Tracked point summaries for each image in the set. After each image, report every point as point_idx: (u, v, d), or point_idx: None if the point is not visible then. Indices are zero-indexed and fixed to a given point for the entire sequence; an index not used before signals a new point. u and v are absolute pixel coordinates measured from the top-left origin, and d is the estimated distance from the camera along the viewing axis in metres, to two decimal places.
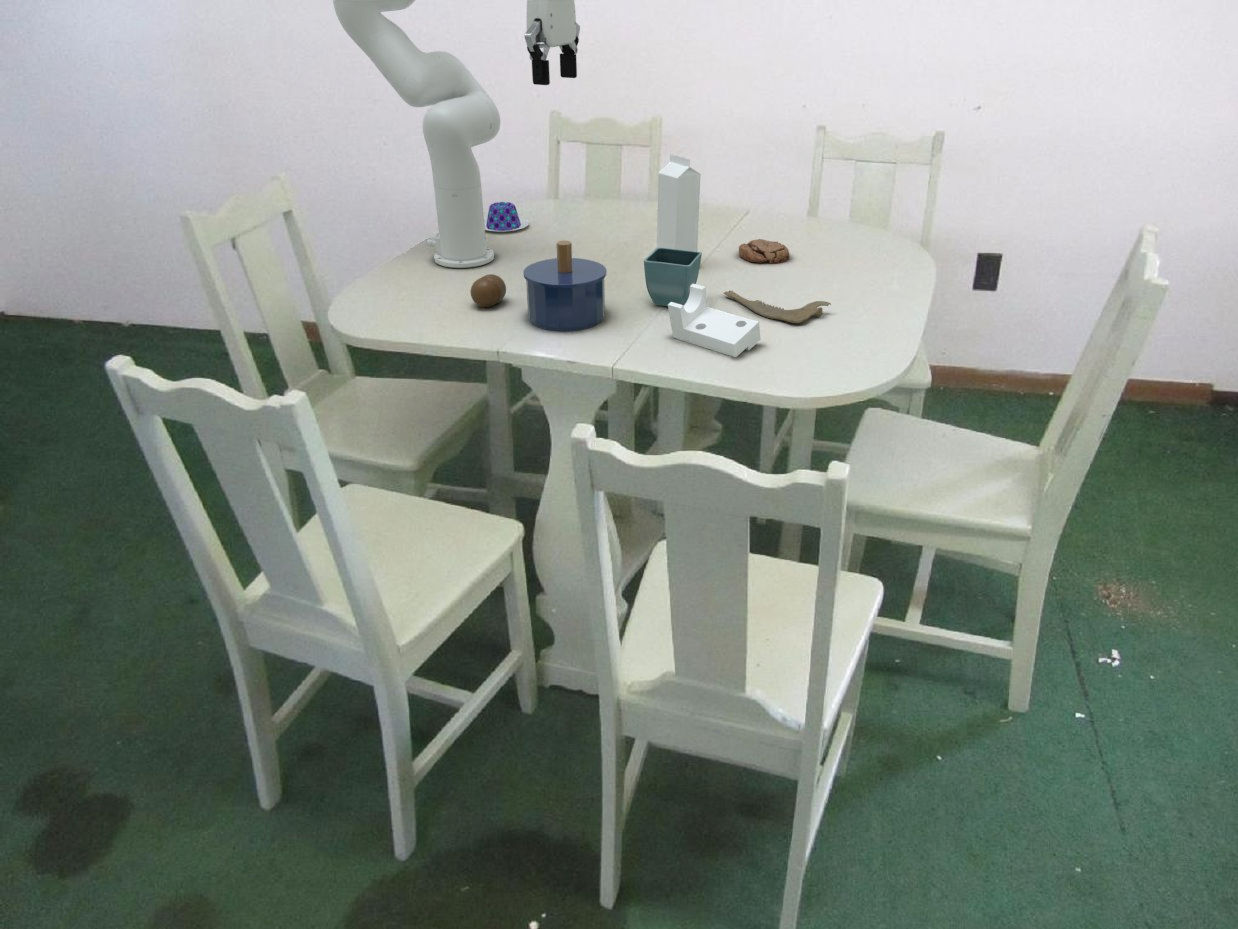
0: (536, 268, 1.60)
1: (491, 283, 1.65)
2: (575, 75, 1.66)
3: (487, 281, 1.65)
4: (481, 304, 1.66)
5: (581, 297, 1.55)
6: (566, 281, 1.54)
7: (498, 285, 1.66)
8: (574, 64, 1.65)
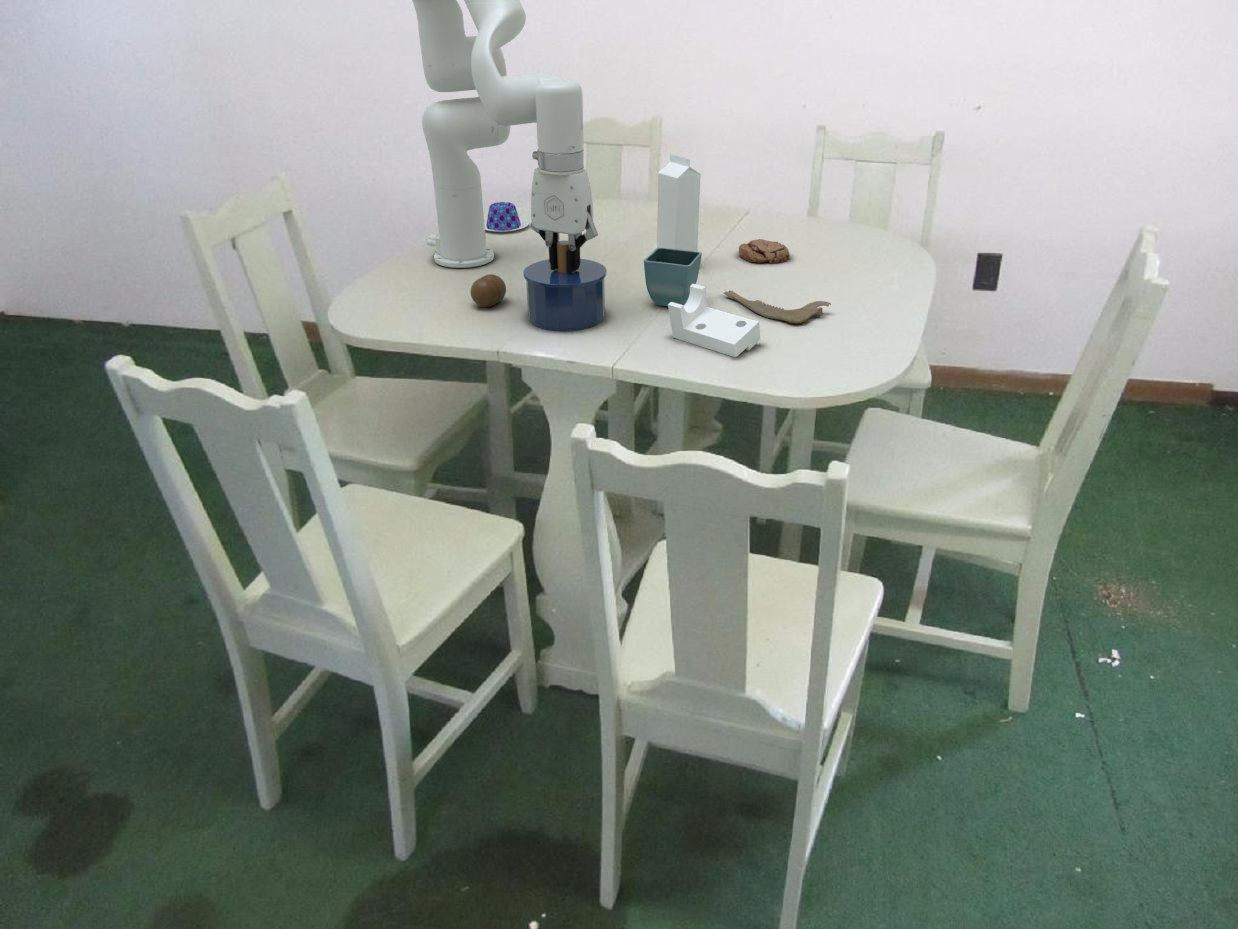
0: (536, 268, 1.60)
1: (491, 283, 1.65)
2: None
3: (487, 281, 1.65)
4: (481, 304, 1.66)
5: (581, 297, 1.55)
6: (566, 281, 1.54)
7: (498, 285, 1.66)
8: None
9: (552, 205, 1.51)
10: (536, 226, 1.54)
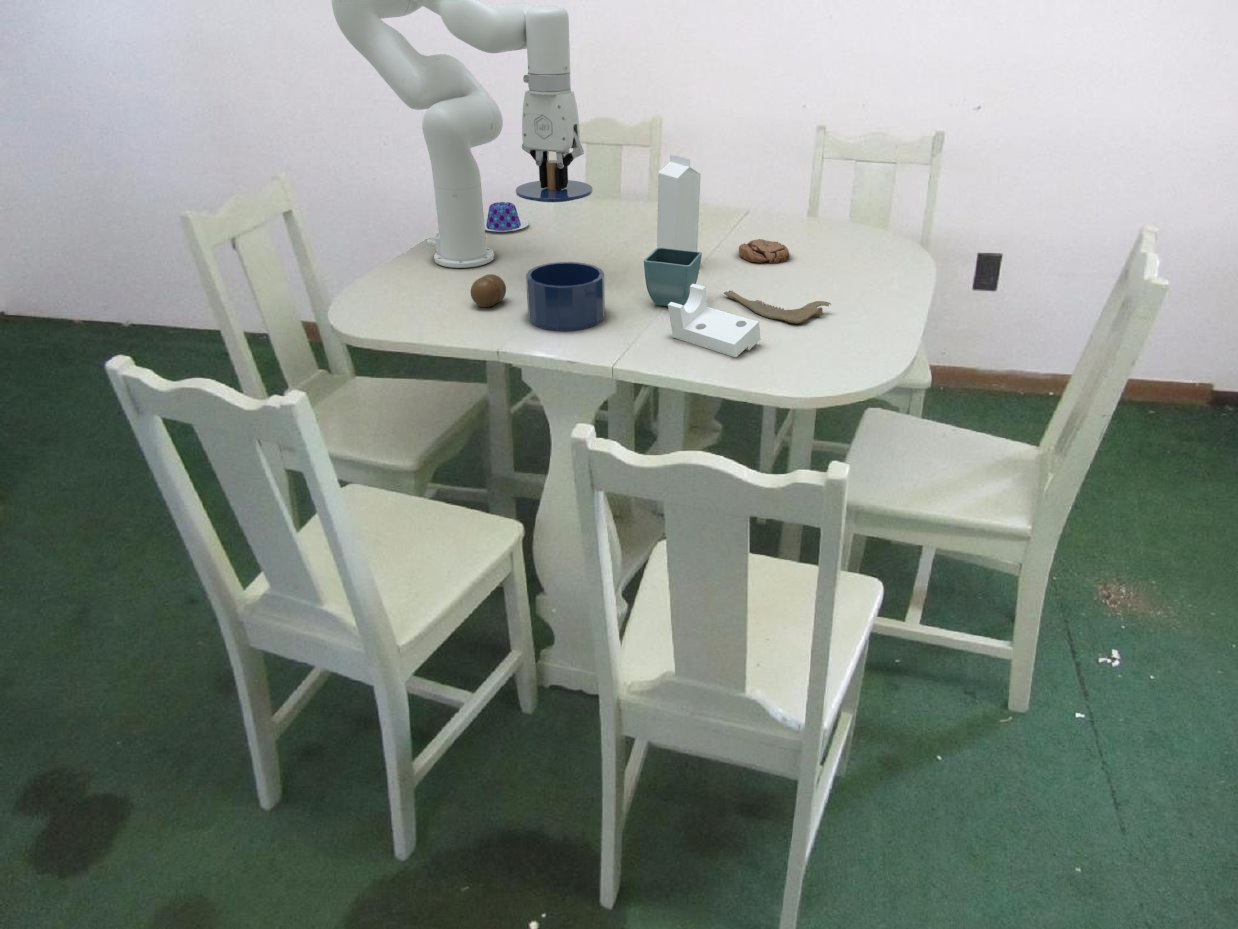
0: (527, 187, 1.73)
1: (491, 283, 1.65)
2: None
3: (487, 281, 1.65)
4: (481, 304, 1.66)
5: (581, 297, 1.55)
6: (555, 195, 1.67)
7: (498, 285, 1.66)
8: None
9: (541, 125, 1.64)
10: (527, 145, 1.67)
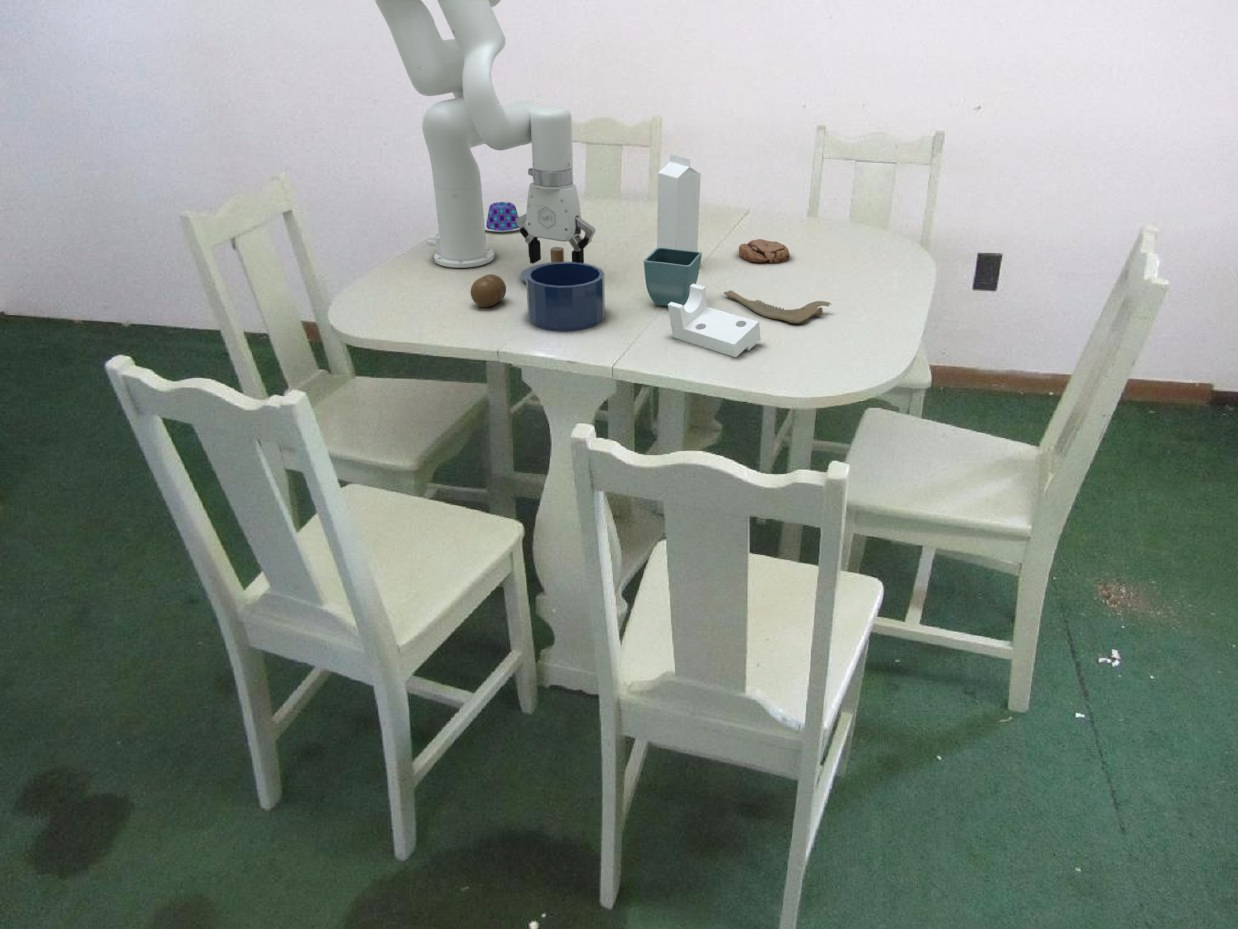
0: None
1: (491, 283, 1.65)
2: None
3: (487, 281, 1.65)
4: (481, 304, 1.66)
5: (581, 297, 1.55)
6: None
7: (498, 285, 1.66)
8: (539, 248, 1.81)
9: (544, 216, 1.72)
10: (531, 233, 1.76)
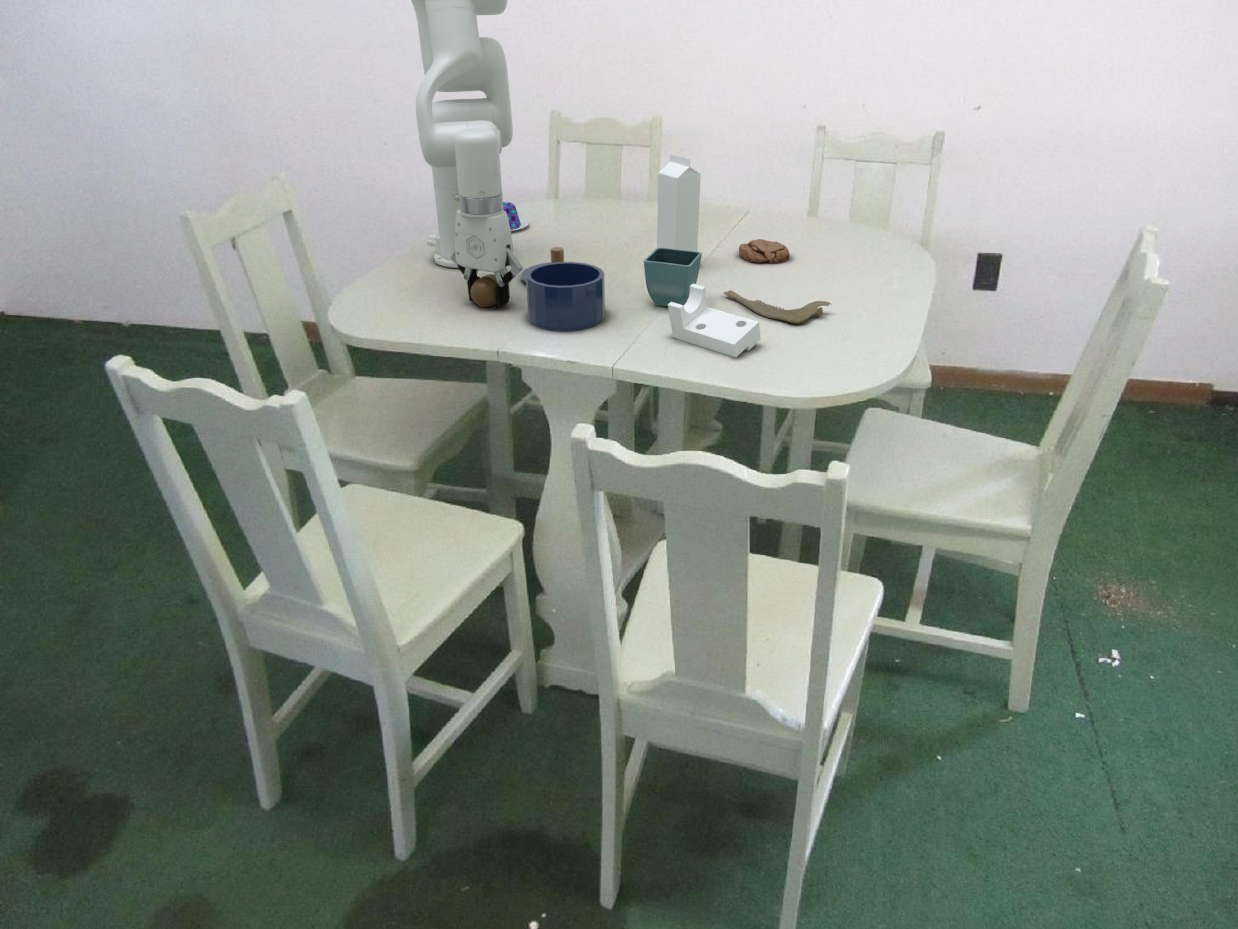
0: None
1: (491, 283, 1.65)
2: None
3: (487, 281, 1.65)
4: (481, 304, 1.66)
5: (581, 297, 1.55)
6: None
7: None
8: None
9: (473, 245, 1.61)
10: (460, 263, 1.64)
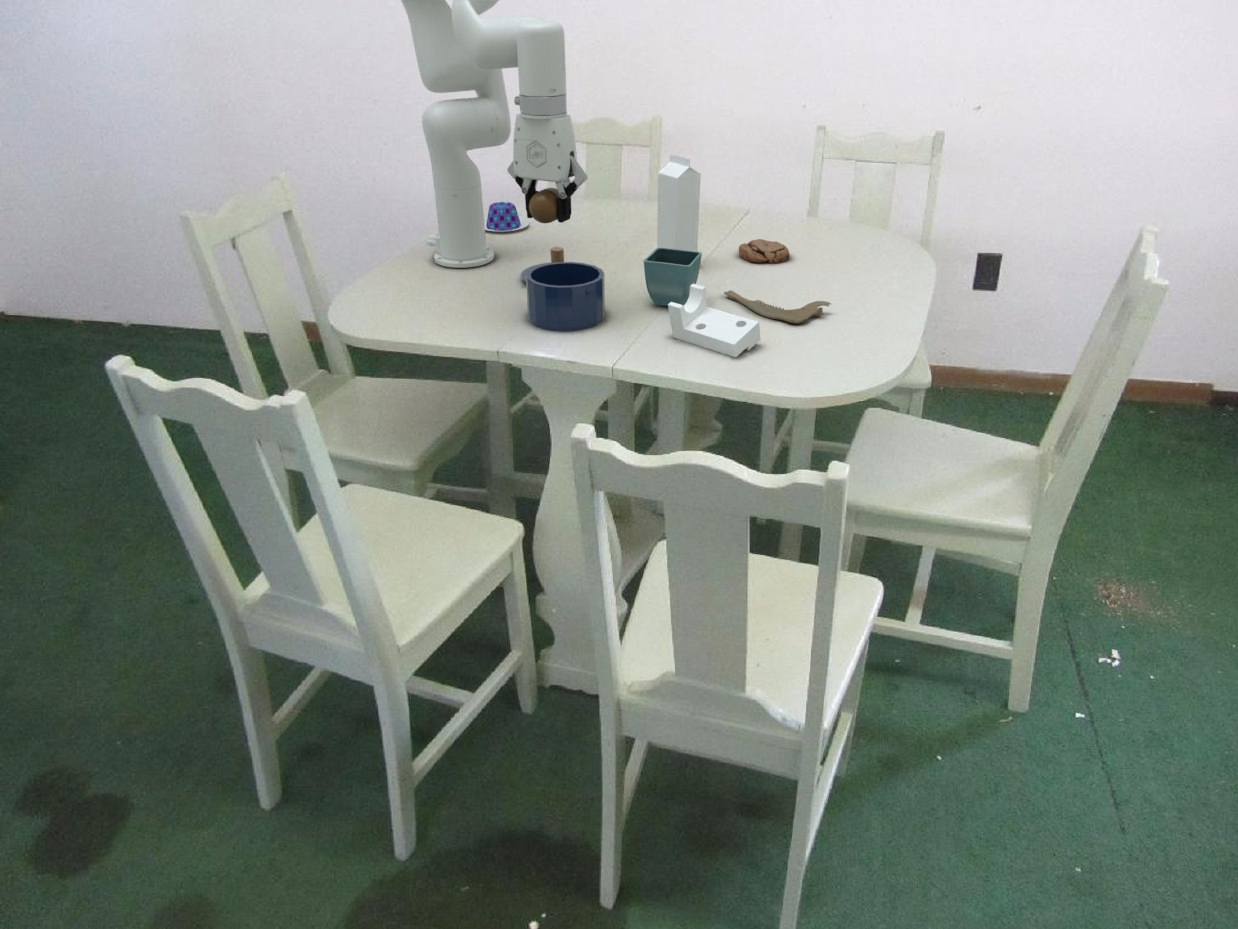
0: None
1: (552, 196, 1.51)
2: None
3: (548, 194, 1.51)
4: (541, 219, 1.52)
5: (581, 297, 1.55)
6: None
7: None
8: None
9: (534, 152, 1.48)
10: (519, 174, 1.51)
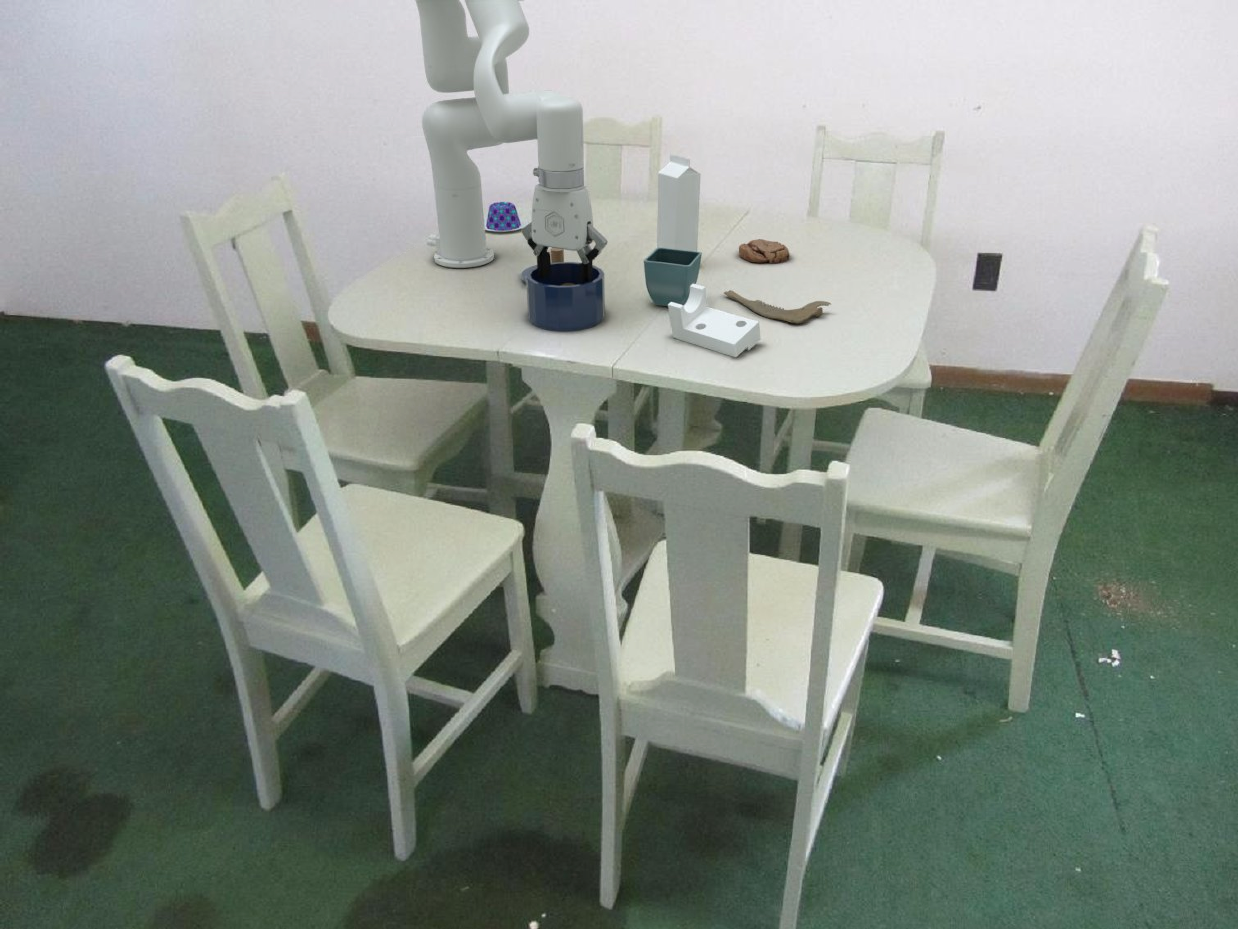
0: None
1: None
2: None
3: None
4: None
5: (581, 297, 1.55)
6: None
7: None
8: (549, 261, 1.61)
9: (552, 222, 1.52)
10: (537, 242, 1.56)
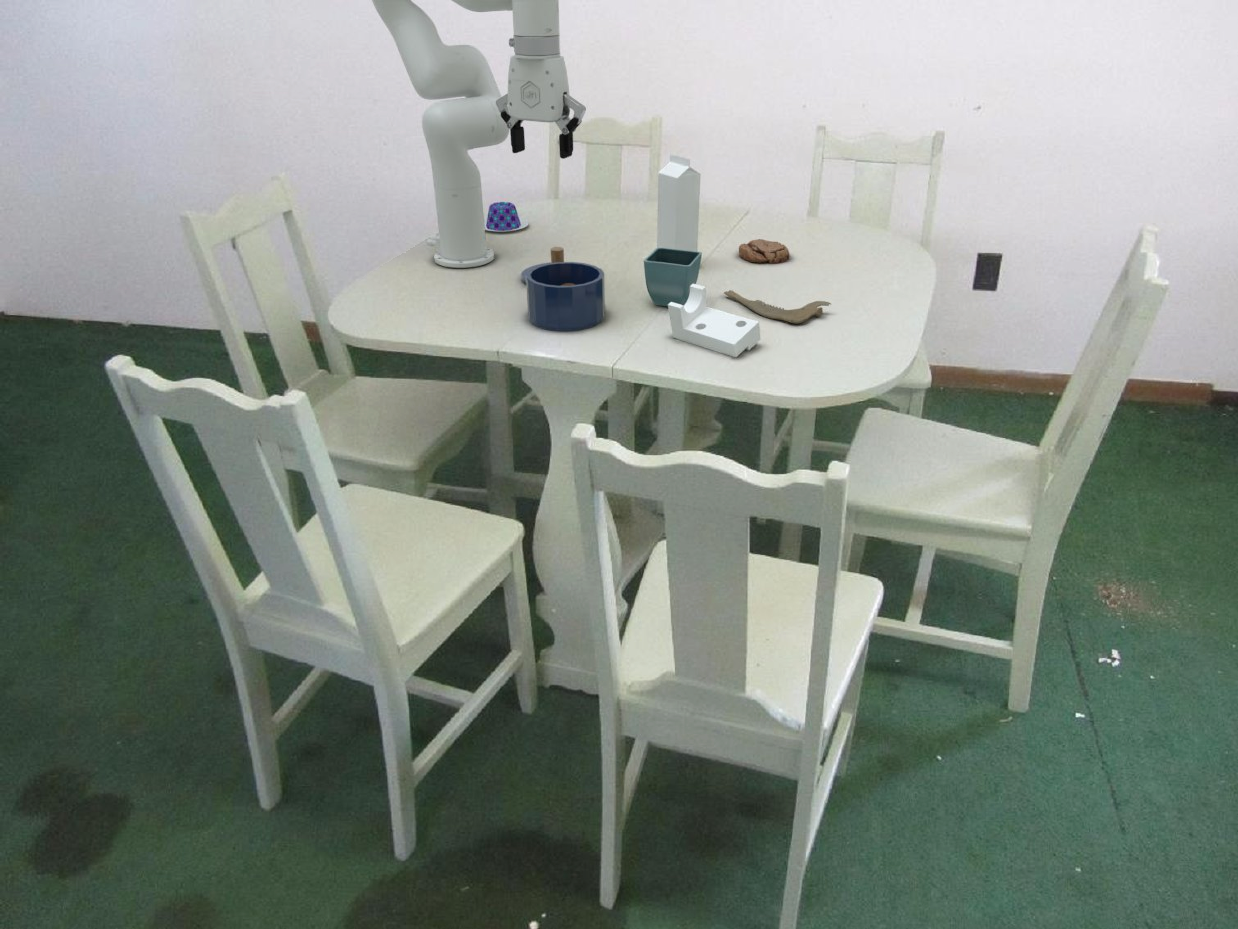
0: None
1: None
2: None
3: None
4: None
5: (581, 297, 1.55)
6: None
7: None
8: (523, 136, 1.60)
9: (528, 92, 1.51)
10: (513, 115, 1.54)
